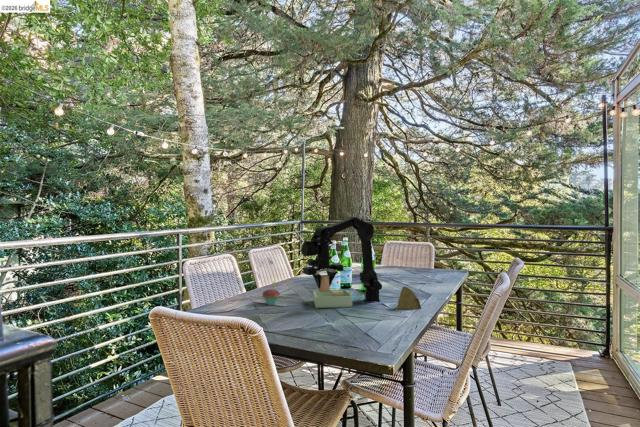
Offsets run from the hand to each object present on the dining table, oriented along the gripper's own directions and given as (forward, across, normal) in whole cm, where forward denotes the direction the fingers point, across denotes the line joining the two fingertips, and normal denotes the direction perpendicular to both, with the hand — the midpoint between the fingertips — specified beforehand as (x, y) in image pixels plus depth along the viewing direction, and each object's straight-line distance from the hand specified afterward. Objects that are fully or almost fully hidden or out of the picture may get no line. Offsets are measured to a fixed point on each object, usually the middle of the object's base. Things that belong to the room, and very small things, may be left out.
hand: (324, 287), depth 189 cm
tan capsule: (+2, 0, 0) cm, 2 cm away
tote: (+11, -9, -8) cm, 16 cm away
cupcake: (+10, +17, -23) cm, 31 cm away
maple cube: (+10, -12, -6) cm, 17 cm away
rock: (+12, -36, +18) cm, 42 cm away
